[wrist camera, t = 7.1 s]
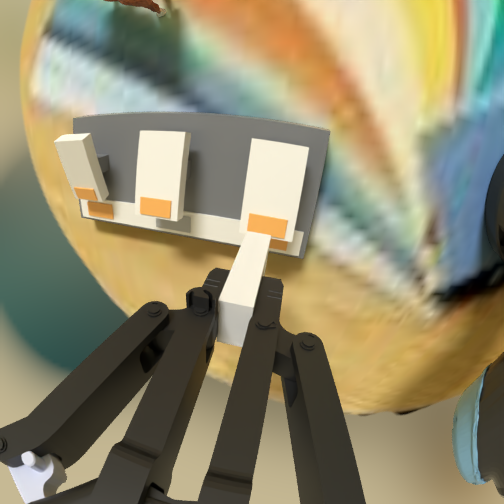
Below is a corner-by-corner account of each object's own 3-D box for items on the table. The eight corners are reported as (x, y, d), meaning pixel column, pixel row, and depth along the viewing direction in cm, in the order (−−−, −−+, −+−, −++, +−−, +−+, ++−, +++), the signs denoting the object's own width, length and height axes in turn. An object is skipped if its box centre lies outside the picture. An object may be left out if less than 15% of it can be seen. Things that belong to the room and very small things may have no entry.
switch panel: (327, 129, 21) (332, 133, 18) (303, 248, 27) (302, 268, 24) (85, 115, 23) (63, 120, 20) (91, 210, 29) (73, 222, 26)
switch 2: (308, 147, 19) (309, 147, 18) (292, 237, 21) (292, 242, 20) (254, 139, 19) (251, 138, 18) (241, 228, 22) (238, 232, 21)
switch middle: (191, 132, 20) (184, 131, 18) (182, 217, 22) (176, 221, 21) (147, 130, 20) (139, 130, 19) (141, 211, 23) (133, 214, 21)
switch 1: (90, 133, 19) (81, 140, 18) (109, 194, 24) (102, 203, 24) (62, 135, 19) (53, 142, 19) (81, 191, 25) (74, 199, 24)
